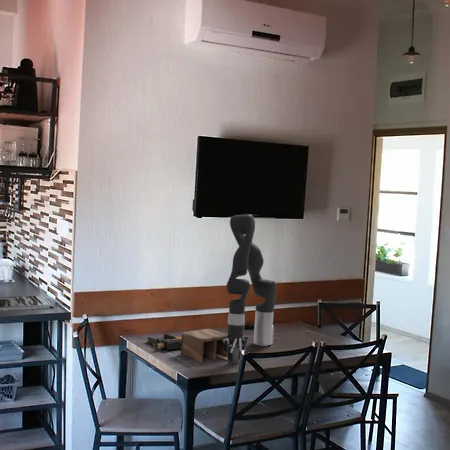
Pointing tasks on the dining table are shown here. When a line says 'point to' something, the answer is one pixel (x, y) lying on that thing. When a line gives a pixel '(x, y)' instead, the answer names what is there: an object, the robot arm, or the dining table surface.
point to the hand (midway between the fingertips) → (233, 359)
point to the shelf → (203, 344)
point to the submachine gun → (167, 342)
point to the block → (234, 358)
